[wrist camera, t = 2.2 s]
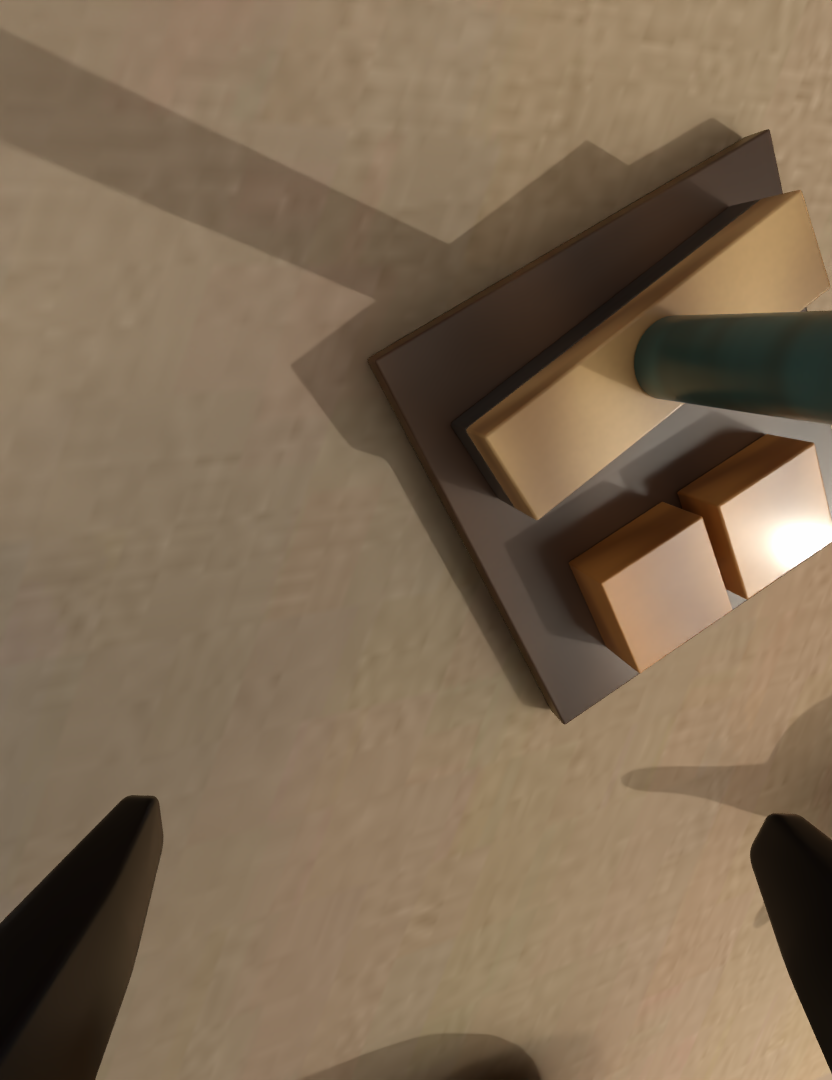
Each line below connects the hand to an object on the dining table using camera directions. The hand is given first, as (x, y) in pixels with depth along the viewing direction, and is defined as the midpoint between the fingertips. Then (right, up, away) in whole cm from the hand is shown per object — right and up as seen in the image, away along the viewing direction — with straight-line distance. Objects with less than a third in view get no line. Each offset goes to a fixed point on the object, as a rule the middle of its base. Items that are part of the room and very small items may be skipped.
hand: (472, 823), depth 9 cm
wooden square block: (+11, +5, +14) cm, 18 cm away
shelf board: (+7, +7, +13) cm, 16 cm away
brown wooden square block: (+7, +3, +13) cm, 15 cm away
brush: (+5, +10, +10) cm, 15 cm away
